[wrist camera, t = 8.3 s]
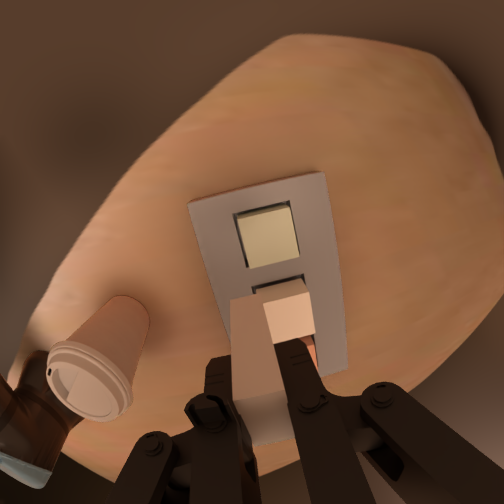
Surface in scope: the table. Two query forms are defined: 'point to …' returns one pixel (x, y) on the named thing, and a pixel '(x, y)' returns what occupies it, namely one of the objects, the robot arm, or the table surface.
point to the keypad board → (305, 267)
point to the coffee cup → (100, 361)
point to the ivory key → (288, 310)
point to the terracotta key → (310, 347)
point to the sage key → (268, 235)
